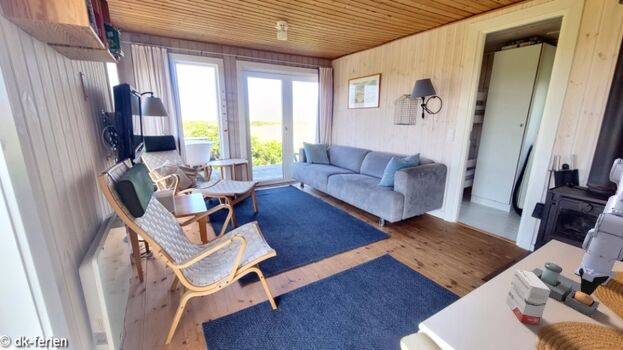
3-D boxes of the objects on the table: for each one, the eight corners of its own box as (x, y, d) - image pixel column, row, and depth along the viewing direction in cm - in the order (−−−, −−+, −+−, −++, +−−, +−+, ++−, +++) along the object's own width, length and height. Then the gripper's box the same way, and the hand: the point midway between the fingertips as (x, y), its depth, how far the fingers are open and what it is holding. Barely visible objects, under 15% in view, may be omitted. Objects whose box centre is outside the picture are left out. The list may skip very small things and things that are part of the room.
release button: (575, 296, 82) (578, 289, 82) (592, 304, 79) (595, 297, 79) (571, 300, 80) (574, 293, 80) (588, 308, 77) (591, 301, 77)
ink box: (539, 326, 72) (552, 290, 69) (520, 322, 73) (532, 287, 70) (522, 303, 80) (533, 270, 77) (504, 300, 81) (514, 268, 78)
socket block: (534, 273, 95) (536, 267, 95) (570, 290, 87) (573, 284, 86) (522, 282, 90) (524, 276, 89) (559, 301, 82) (562, 294, 81)
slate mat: (559, 275, 95) (560, 274, 95) (586, 287, 89) (586, 286, 89) (552, 281, 91) (552, 280, 91) (579, 294, 86) (579, 293, 86)
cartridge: (541, 280, 92) (547, 261, 89) (557, 288, 88) (564, 268, 86) (535, 284, 89) (542, 264, 87) (552, 292, 86) (559, 272, 83)
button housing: (570, 296, 84) (573, 290, 84) (596, 309, 79) (599, 302, 79) (564, 303, 81) (566, 296, 80) (590, 316, 76) (593, 310, 76)
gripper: (615, 268, 68) (597, 310, 72) (628, 254, 76) (611, 293, 79) (579, 254, 74) (564, 294, 78) (594, 243, 81) (580, 279, 85)
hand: (585, 292), depth 79 cm, fingers closed
